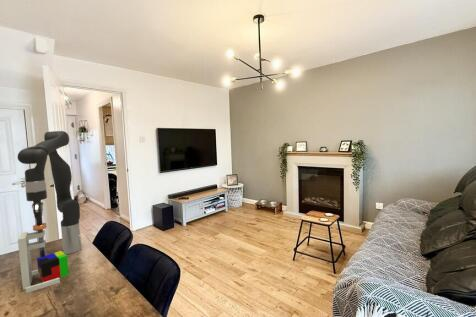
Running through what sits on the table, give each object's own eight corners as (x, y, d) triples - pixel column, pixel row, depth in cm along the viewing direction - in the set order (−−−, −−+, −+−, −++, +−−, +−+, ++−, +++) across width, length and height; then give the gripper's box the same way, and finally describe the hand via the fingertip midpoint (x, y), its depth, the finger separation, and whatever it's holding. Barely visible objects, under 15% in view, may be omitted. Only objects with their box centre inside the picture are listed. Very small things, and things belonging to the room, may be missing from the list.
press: (60, 266, 125) (56, 224, 124) (59, 282, 111) (55, 234, 109) (26, 276, 117) (22, 230, 115) (21, 294, 102) (16, 242, 101)
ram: (49, 252, 117) (46, 222, 116) (48, 256, 113) (45, 224, 112) (36, 255, 114) (33, 224, 113) (35, 259, 110) (32, 227, 109)
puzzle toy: (38, 277, 116) (36, 258, 115) (62, 268, 124) (61, 250, 123) (43, 284, 110) (41, 264, 109) (68, 274, 118) (67, 255, 117)
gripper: (27, 189, 114) (30, 223, 115) (23, 193, 104) (27, 230, 105) (47, 187, 119) (50, 219, 120) (45, 190, 108) (48, 226, 109)
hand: (39, 224), depth 112 cm, fingers closed
